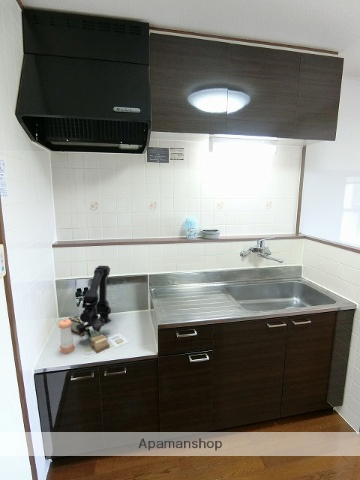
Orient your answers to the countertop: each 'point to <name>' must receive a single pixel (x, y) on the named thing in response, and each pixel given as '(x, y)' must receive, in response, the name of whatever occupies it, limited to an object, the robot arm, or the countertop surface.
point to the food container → (76, 322)
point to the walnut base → (100, 347)
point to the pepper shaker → (66, 336)
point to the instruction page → (117, 340)
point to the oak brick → (99, 341)
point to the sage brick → (93, 334)
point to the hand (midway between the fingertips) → (93, 336)
